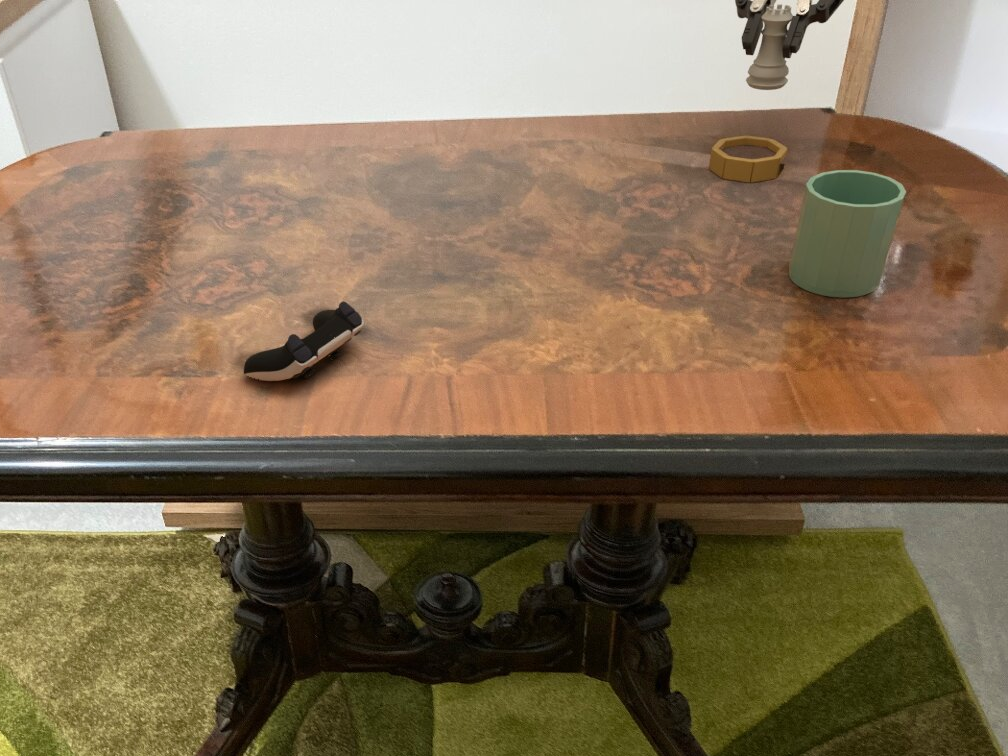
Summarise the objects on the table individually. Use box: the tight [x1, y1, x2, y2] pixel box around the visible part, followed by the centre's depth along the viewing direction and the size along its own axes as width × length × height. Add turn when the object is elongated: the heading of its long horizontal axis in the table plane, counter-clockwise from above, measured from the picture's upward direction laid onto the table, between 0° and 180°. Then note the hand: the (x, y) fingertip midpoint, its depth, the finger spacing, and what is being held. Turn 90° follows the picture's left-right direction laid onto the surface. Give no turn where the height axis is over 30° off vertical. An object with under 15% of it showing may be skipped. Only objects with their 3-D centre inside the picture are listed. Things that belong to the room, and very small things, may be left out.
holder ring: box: [708, 135, 788, 184], centre depth 109 cm, size 8×8×2 cm
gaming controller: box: [243, 301, 364, 382], centre depth 81 cm, size 11×4×7 cm
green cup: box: [788, 169, 907, 299], centre depth 86 cm, size 8×8×9 cm
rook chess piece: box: [745, 3, 794, 91], centre depth 100 cm, size 4×4×8 cm
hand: (767, 52), depth 99 cm, fingers closed on rook chess piece, 3 cm apart
